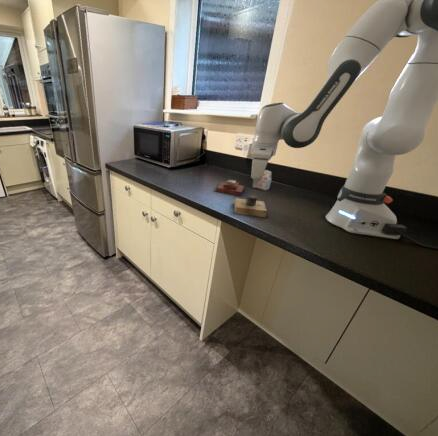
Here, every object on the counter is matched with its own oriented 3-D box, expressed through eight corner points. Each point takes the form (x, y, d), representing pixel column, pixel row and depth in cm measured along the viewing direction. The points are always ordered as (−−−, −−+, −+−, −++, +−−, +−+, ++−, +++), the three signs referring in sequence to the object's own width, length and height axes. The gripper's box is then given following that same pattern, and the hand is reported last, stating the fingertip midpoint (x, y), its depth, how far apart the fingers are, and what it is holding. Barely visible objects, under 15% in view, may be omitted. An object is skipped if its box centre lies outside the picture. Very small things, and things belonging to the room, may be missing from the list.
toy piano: (243, 189, 124) (245, 182, 122) (240, 196, 116) (241, 188, 114) (220, 185, 129) (221, 179, 127) (216, 191, 121) (217, 184, 119)
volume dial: (245, 201, 103) (247, 193, 101) (255, 203, 102) (257, 195, 100) (245, 204, 100) (247, 196, 98) (255, 206, 98) (257, 198, 97)
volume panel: (262, 207, 105) (263, 201, 103) (265, 217, 96) (267, 210, 95) (234, 204, 108) (235, 197, 106) (234, 213, 99) (236, 206, 98)
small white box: (257, 185, 130) (262, 167, 125) (268, 189, 125) (273, 171, 120) (253, 186, 128) (257, 168, 124) (264, 190, 123) (269, 172, 119)
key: (235, 183, 122) (236, 180, 121) (234, 186, 119) (234, 182, 118) (228, 182, 123) (229, 179, 122) (227, 184, 120) (227, 181, 119)
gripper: (257, 144, 99) (251, 175, 106) (251, 153, 83) (244, 190, 90) (274, 145, 97) (266, 177, 103) (271, 155, 81) (262, 192, 87)
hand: (256, 183), depth 96 cm, fingers open, 8 cm apart
